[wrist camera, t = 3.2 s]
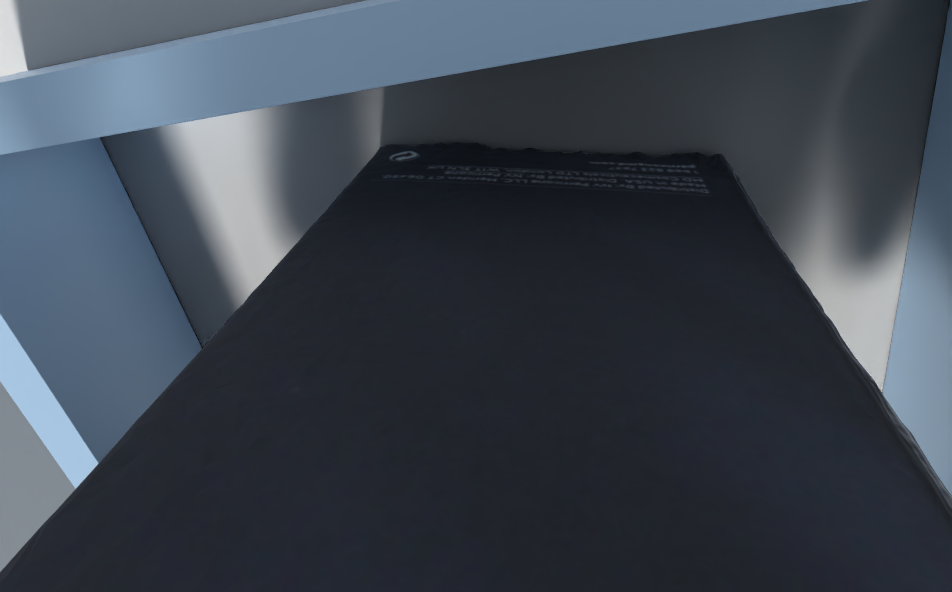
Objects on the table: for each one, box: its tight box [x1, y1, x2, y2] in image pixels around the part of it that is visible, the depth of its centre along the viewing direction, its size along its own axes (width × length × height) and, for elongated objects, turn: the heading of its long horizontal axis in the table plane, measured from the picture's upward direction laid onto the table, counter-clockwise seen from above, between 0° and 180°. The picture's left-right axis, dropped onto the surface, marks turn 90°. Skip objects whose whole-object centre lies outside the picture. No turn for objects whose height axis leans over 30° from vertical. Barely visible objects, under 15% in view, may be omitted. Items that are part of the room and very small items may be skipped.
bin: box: [0, 0, 952, 495], centre depth 11 cm, size 16×16×4 cm
